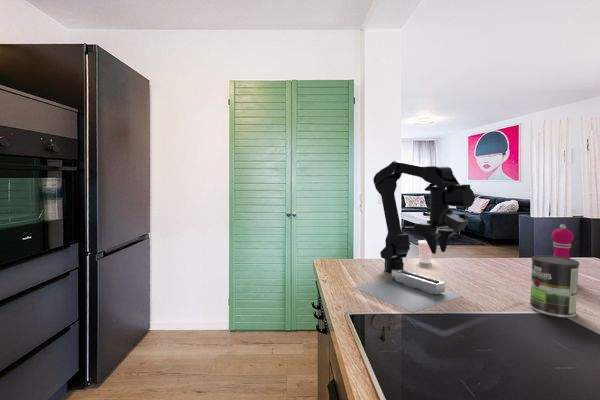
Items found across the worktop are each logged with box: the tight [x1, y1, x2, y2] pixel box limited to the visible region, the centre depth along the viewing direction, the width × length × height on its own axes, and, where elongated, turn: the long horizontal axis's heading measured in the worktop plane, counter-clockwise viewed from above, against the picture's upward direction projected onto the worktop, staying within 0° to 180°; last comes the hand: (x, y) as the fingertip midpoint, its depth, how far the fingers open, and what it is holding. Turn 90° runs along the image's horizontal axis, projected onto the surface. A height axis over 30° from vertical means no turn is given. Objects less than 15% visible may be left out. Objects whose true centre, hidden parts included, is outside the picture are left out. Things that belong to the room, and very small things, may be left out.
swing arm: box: [391, 269, 446, 295], centre depth 108 cm, size 19×4×3 cm, turn 32°
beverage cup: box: [417, 239, 433, 264], centre depth 144 cm, size 6×6×14 cm
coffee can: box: [529, 254, 580, 318], centre depth 91 cm, size 10×10×14 cm
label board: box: [352, 277, 464, 313], centre depth 104 cm, size 24×23×1 cm
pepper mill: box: [551, 223, 575, 259], centre depth 116 cm, size 7×7×20 cm
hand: (438, 252), depth 108 cm, fingers open, 4 cm apart
